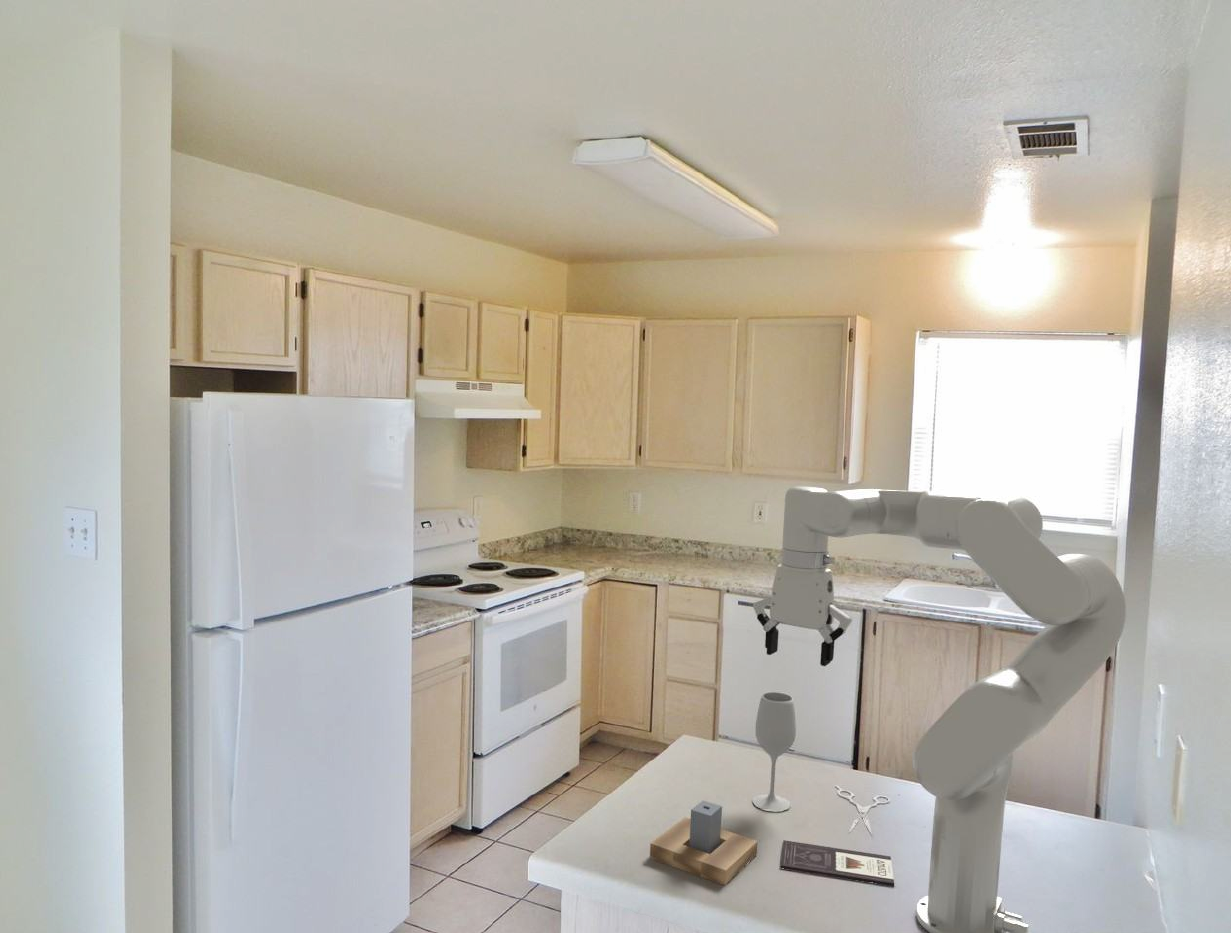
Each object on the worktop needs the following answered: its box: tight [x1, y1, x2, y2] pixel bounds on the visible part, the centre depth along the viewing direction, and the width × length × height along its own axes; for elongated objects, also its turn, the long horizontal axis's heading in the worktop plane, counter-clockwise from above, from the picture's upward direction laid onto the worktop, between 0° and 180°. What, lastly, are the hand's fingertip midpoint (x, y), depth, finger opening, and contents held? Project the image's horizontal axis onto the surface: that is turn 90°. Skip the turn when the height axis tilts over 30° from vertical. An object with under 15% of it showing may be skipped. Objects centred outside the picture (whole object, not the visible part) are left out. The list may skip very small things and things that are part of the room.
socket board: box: [649, 816, 759, 886], centre depth 150 cm, size 14×12×2 cm
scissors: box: [835, 784, 891, 836], centre depth 170 cm, size 11×1×20 cm
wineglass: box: [752, 691, 797, 811], centre depth 170 cm, size 8×8×21 cm
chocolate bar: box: [780, 839, 895, 888], centre depth 150 cm, size 9×1×18 cm
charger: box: [689, 800, 723, 854], centre depth 150 cm, size 4×4×9 cm
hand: (798, 658), depth 152 cm, fingers open, 9 cm apart
